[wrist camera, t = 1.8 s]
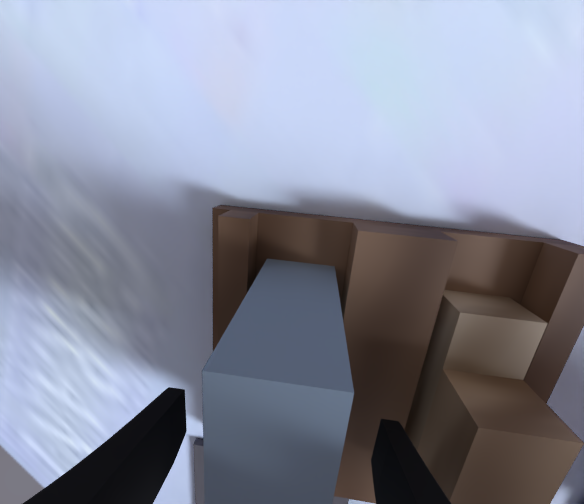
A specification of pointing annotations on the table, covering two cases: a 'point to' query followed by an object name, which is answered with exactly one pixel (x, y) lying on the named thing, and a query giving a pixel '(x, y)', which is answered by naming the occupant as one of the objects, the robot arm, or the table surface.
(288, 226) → the rack
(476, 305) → the block
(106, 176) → the table surface
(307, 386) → the blue-grey rectangular block
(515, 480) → the offcut short
